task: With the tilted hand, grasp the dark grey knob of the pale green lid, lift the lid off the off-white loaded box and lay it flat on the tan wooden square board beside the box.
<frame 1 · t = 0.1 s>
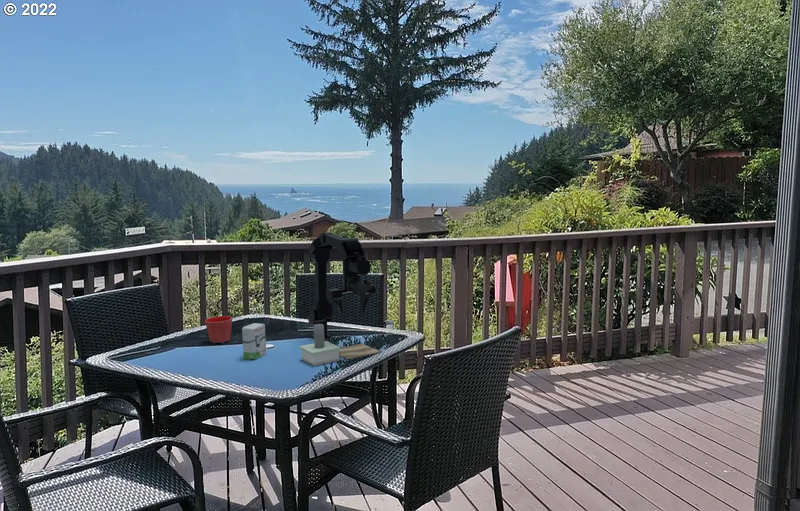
hand: (352, 313, 220), 15 cm above the table, tool pointing down, fingers open, 9 cm apart
flower pot: (220, 342, 242), on the table
lid: (319, 349, 212), point 4 cm above the table, touching storage box
tan wooden square board: (355, 352, 221), on the table
storage box: (320, 360, 212), on the table
ink box: (255, 357, 219), on the table
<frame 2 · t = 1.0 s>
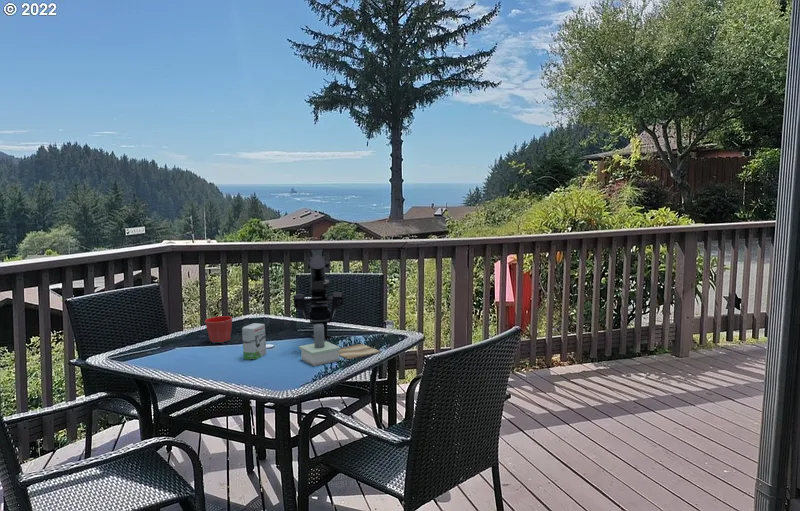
hand: (319, 319, 219), 13 cm above the table, tool tilted 45°, fingers open, 9 cm apart
nothing on the table moved.
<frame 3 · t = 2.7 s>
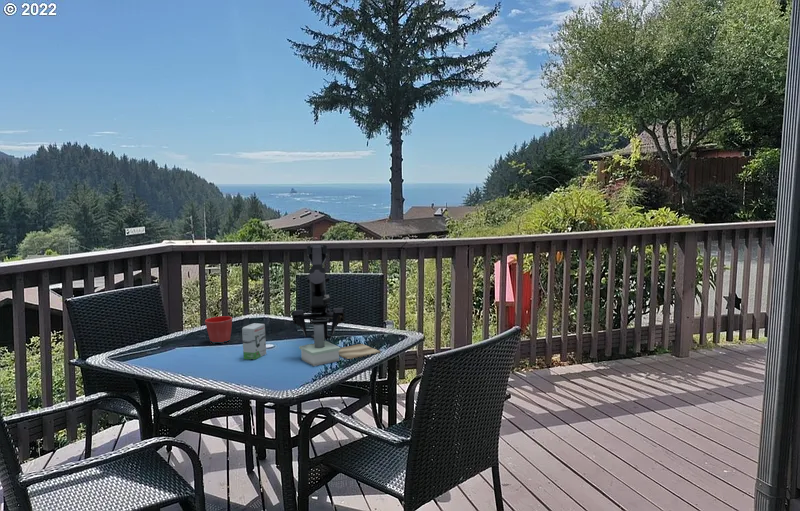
hand: (319, 335, 210), 9 cm above the table, tool tilted 45°, fingers open, 9 cm apart
nothing on the table moved.
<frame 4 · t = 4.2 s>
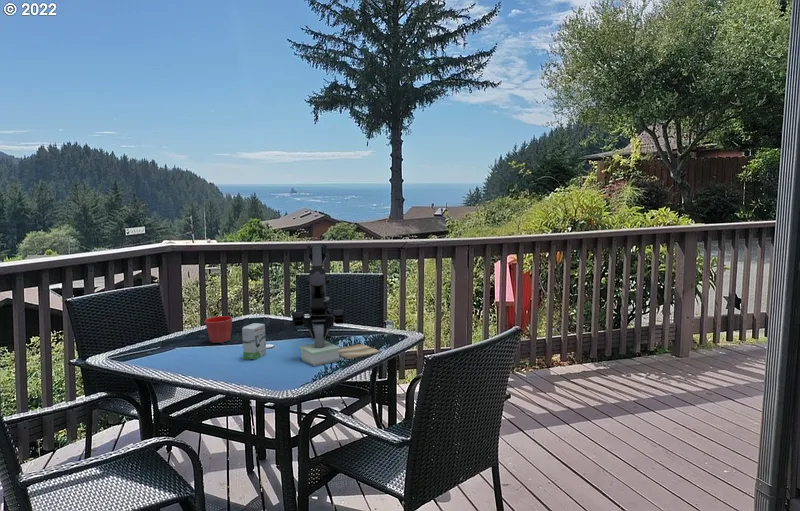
hand: (319, 338, 210), 9 cm above the table, tool tilted 45°, fingers closed on lid, 4 cm apart
lid: (319, 349, 212), point 4 cm above the table, touching gripper, storage box
everything else where it was.
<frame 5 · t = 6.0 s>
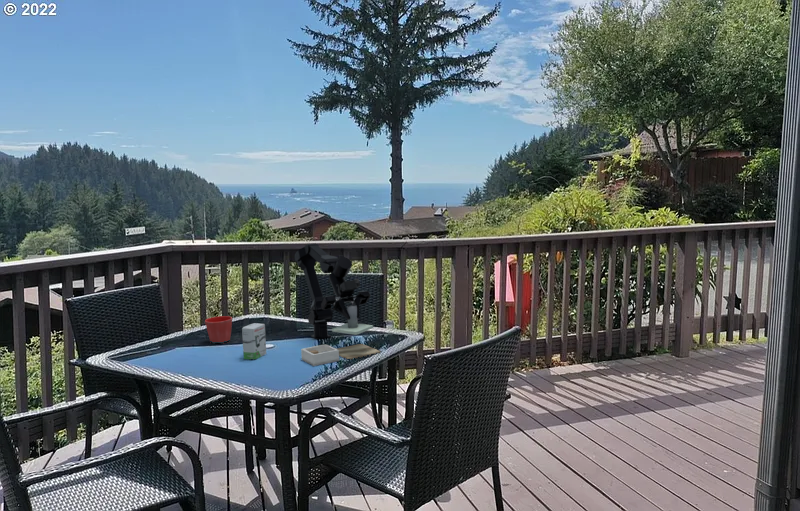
hand: (354, 318, 218), 13 cm above the table, tool tilted 45°, fingers closed on lid, 4 cm apart
lid: (352, 329, 220), point 9 cm above the table, touching gripper
everything else where it was.
when the fingers open (7 cm above the table, at t = 7.9 s): lid drops 2 cm, resting on tan wooden square board.
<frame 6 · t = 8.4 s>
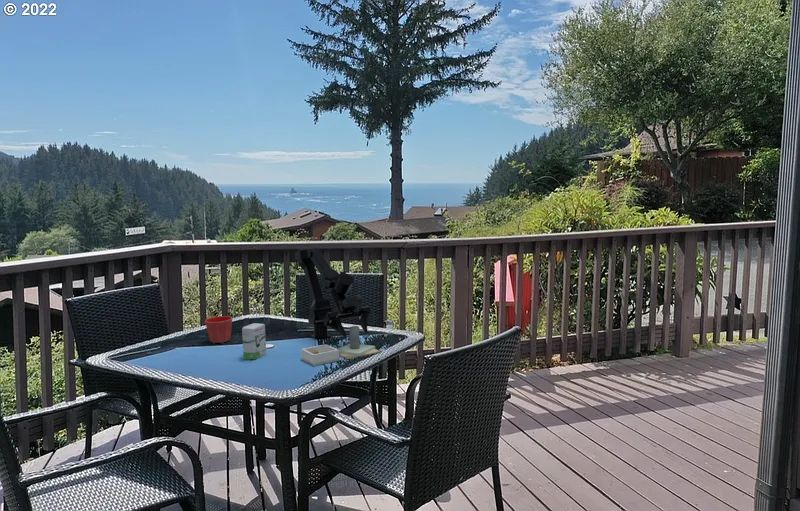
hand: (356, 334, 219), 7 cm above the table, tool tilted 45°, fingers open, 9 cm apart
lid: (355, 350, 221), point 1 cm above the table, touching tan wooden square board
everything else where it was.
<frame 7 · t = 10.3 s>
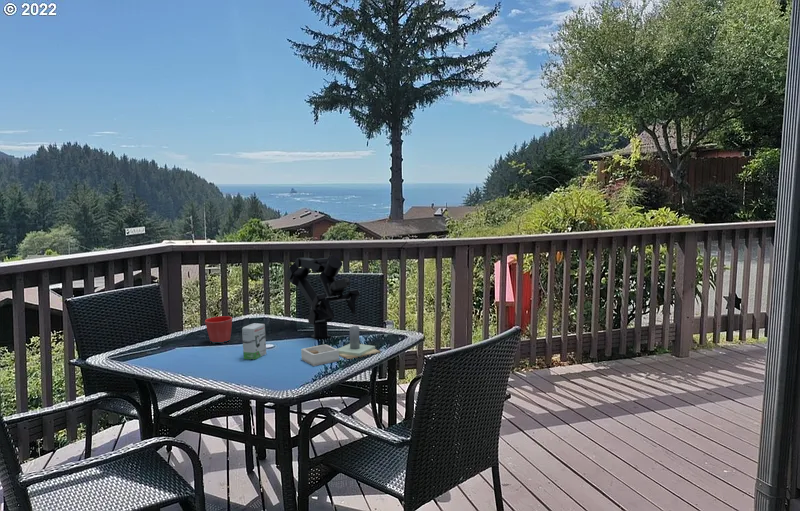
hand: (344, 316, 226), 13 cm above the table, tool tilted 45°, fingers open, 9 cm apart
nothing on the table moved.
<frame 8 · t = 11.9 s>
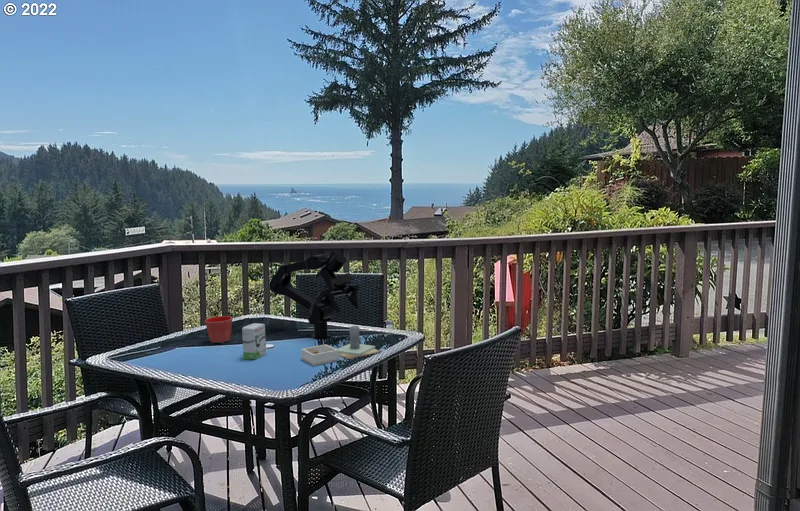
hand: (348, 310, 232), 14 cm above the table, tool tilted 45°, fingers open, 9 cm apart
nothing on the table moved.
at the end: lid inside the target area on the tan wooden square board (0.0 cm from its centre), point 0.6 cm above the tan wooden square board's base; lid tilted 0°; the gripper is holding nothing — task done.
